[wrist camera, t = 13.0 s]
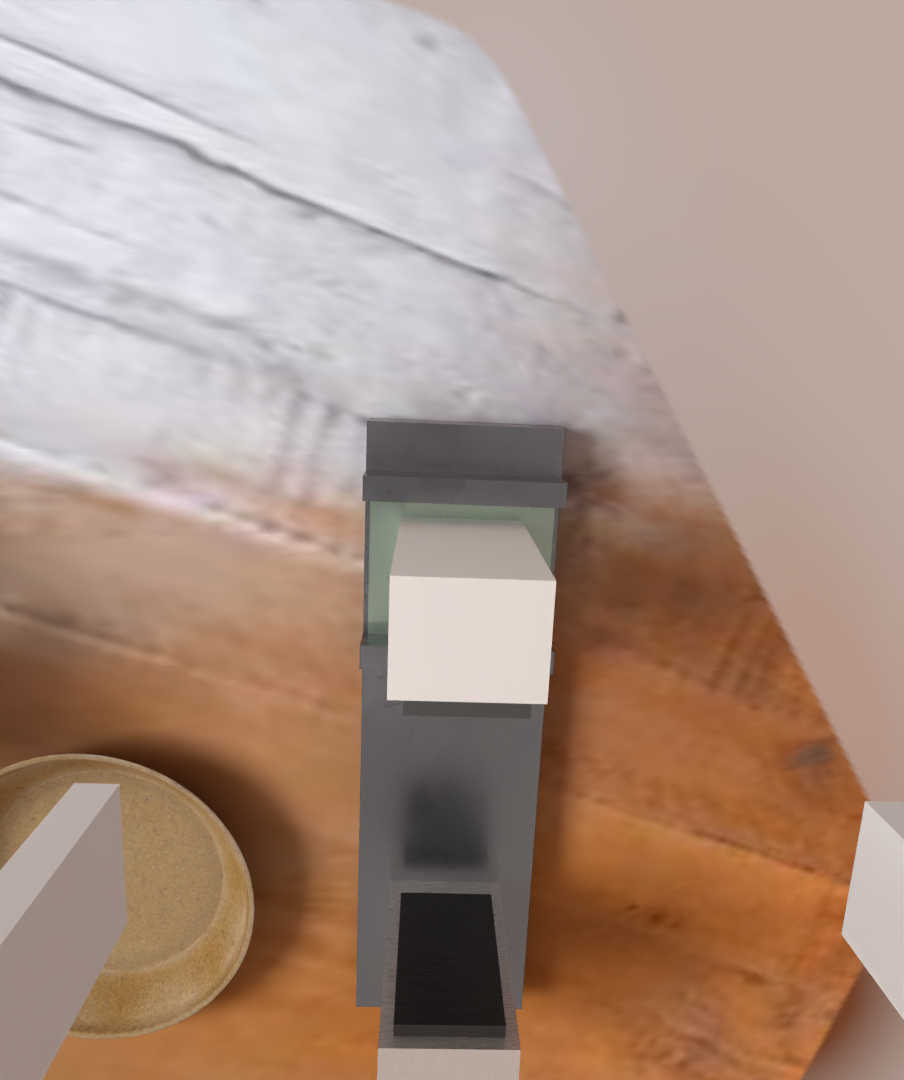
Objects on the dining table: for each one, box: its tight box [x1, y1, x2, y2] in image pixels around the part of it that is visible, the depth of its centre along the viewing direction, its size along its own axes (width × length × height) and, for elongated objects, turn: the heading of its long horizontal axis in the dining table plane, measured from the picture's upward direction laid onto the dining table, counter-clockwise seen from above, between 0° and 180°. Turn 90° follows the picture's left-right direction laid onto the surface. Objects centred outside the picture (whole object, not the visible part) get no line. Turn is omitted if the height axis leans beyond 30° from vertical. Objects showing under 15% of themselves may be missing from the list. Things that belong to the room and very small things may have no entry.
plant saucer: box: [0, 754, 255, 1039], centre depth 36 cm, size 15×15×3 cm
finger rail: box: [356, 418, 568, 1080], centre depth 31 cm, size 28×8×10 cm, turn 177°
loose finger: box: [387, 517, 556, 719], centre depth 28 cm, size 4×5×9 cm
